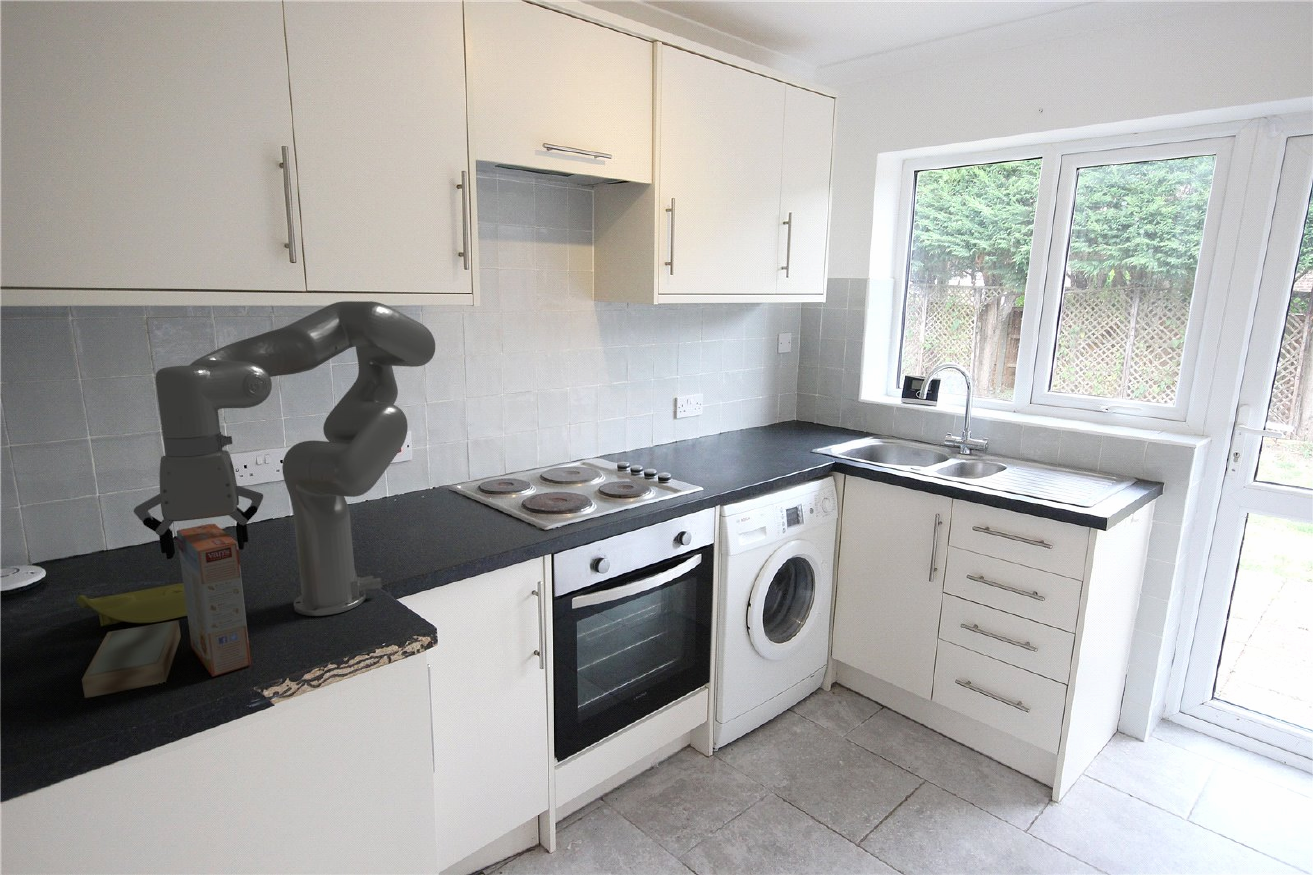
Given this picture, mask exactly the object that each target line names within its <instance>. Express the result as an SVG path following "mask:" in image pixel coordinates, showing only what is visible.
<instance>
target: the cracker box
mask: <svg viewBox="0 0 1313 875" xmlns="http://www.w3.org/2000/svg"><path fill="white" fill-rule="evenodd" d="M176 538H177V546H178V554H179V561H180V568H181V576H182V583H183V585H184V592H185V600H186V607H187V616H186V617H187V623H188V630H189V639H190V640H189V641H190V647H191V649H192V650H193V652H194V653H195V655H196V656H197V657H198V659H199V661H200V662H201V663H202V665H204V667H205V669H206V670H207V671H208V673H209V674H210V675H211V677H212V678H213V677H217V676H219V675H223V674H227V673H230V672H233V671H237V670H241V669H243V668H246V667H250V666H251V665H252V660H251V653H250V652H251V651H250V645H249V644H250V642H249V637H248V636H249V634H248V626H247V618H246V617H247V616H246V608H245V599H244V590H243V581H242V572H241V562H240V552H239V550H240V549H238V543H237V540H235V539H233V537H231V536H230V535H228V534H227V533H226V531H224V530H222V529H221V528H220V527H219V526H218V525H217V524H216V523H208V524H202V525H197V526H192V527H187V528H181V529H178V530H176Z"/></svg>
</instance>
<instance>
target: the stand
mask: <svg viewBox="0 0 1313 875" xmlns="http://www.w3.org/2000/svg"><path fill="white" fill-rule="evenodd" d="M181 635H182V634H181V629H180V621H179V619H178V620H171V621H166V622H161V623H160V622H158V623H154V624H149V625H148V624H147V625H142V626H136V627H130V628H126V629H125V628H124V629H119V630H112V631H107V633H106V635H105V637H104V638H103V640H102V642H101V643H100V646H99V647H98V649H97V651H96V653H95V654H94V656H93V659H92V660H91V662H90V664H89V666H88V668H87V669H86V671H85V672H84V675H83V677H82V678H81V682H82V689H83V693H84V699H88V698H93V697H97V696H98V697H99V696H103V695H110V694H113V693H118V692H123V691H128V690H132V689H133V690H134V689H138V688H142V687H149V686H154V685H160V684H164V683H163V682H165V683H167V680H168V676H169V674H170V671H171V667H172V664H173V661H174V659H175V655H176V652H177V649H178V646H179V643H180V640H181ZM159 683H160V684H159Z"/></svg>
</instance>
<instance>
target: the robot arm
mask: <svg viewBox="0 0 1313 875" xmlns="http://www.w3.org/2000/svg"><path fill="white" fill-rule="evenodd" d="M353 347H355V352H356V357H357V364H358V366H357V367H358V374H357V377H356V380H355V381H354V383H353V384H352V385H351V387H350V388H349V389H348V391H346V392H345V394H344V396H343V397H342V398H341V399H340V400H339V401H338V402H337V404H336V405H335V406H334V407H333V408H332V410H331V411H330V413H329V414H328V416H326V418H325V421H324V423H323V435H324V437H325V439H327V441H325V440H304V441H300V442H298V443H296V444H294V445H292V446H291V447H290V448H289V449H288V450H287V451H286V454H285V455H284V458H283V461H282V466H281V467H282V468H281V469H282V475H283V479H284V483H285V486H286V489H287V493H288V495H289V499H290V502H291V507H292V513H293V514H292V516H293V522H294V532H295V533H294V535H295V540H296V541H295V543H296V552H297V562H298V569H299V570H298V571H299V579H300V588H301V589H300V590H301V594H300V595H299V596H297V597H296V598H295V599H294V601H293V609H294V611H295V612H296V613H298V614H300V615H303V616H309V617H324V616H330V615H331V616H332V615H336V614H340V613H343V612H347V611H349V610H352V609H354V608H356V607H358V606H359V605H361V604H362V603H363V602H364V601H365V600H366V590H370V589H371V590H375V589H379V588H383V585H382V578H381V577H376V578H374V575H369V576H364V577H361V576H358V574H357V571H356V569H355V560H354V558H355V557H354V550H353V549H354V548H353V538H352V536H353V535H352V528H351V527H352V526H351V514H350V509H349V506H348V502H347V500H346V497H347V498H348V497H350V498H355V497H359V496H362V495H364V494H366V493H368V492H369V491H370V490H372V488H373V487H374V486H375V485H376V484H377V482H378V481H379V480H380V478H381V477H382V476H383V475H384V473H385V471H386V470H387V469H388V467H389V466H390V464H391V463H392V462H393V460H394V459H395V458H396V456H397V455H398V453H399V452H400V451H401V449H402V447H403V446H404V444H405V442H406V439H407V435H408V426H409V425H408V419H407V417H406V414H405V413H404V411H403V409H401V407H398V406H397V405H396V404H395V402H396V401H397V398H398V394H399V390H398V384H397V380H396V377H395V372H394V369H393V367H394V366H395V367H408V368H409V367H410V368H413V367H417V368H418V367H422V366H424V365H426V364H428V363H429V362H431V360H432V359H434V358H433V357H434V356H435V353H436V340H435V337H434V335H433V334H432V332H431V331H430V329H429V328H428V327H427V326H426V325H424V324H422V323H421V322H418V321H417V320H415V319H413V318H411V317H409V316H407V314H404V313H402V312H401V311H399V310H396V309H395V308H392V307H390V306H388V305H386V304H384V303H381V302H378V301H360V300H359V301H358V300H357V301H354V300H353V301H352V300H351V301H348V300H345V301H339V302H334V303H331V304H328V305H326V306H325V307H323V308H320V309H319V310H316V311H314V312H313V313H310V314H308V315H306V316H304V317H302V318H300V319H298V320H296V321H294V322H292V323H290V324H288V325H285V326H283V327H281V328H277V329H274V330H270V331H267V332H264V333H261V334H258V335H254V336H252V337H248V338H244V339H241V340H237V341H235V342H232V343H229V344H227V345H224V346H221V347H219V348H218V349H216V350H213V351H211V352H210V353H209V352H208V353H207V354H205V355H202V356H200V357H199V358H197V359H196V360H194V361H192V362H191V363H190V364H188V365H173V366H166V367H162V368H159V370H157V371H156V373H155V377H154V378H155V386H156V387H155V388H156V394H157V402H158V409H159V418H160V425H161V433H162V441H163V446H164V447H163V448H164V454H165V455H163V456H161V458H160V461H159V462H160V464H159V494H156V495H155V496H152V497H151V498H149V499H147V500H146V501H144V502H142V503H140V504H139V505H136V506H135V507H134V509H133V513H134V515H135V516H137V518H138V519H139V520H140V521H141V522H142V524H143V525H144V526H145V527H146V528H148V529H149V530H151V531H153V532H154V533H156V534H155V535H157V536H158V539H159V544H160V550H161V551H160V552H161V554H165V555H166V559H167V560H171V559H173V558H174V556H175V553H176V549H175V541H174V536H173V530H172V529H171V528H170V527H171V526H172V524H174V522H183V521H186V522H187V521H193V520H202V519H211V518H212V519H213V518H219V517H225V516H228V517H230V518H231V519H232V520H234V521H235V522H236V524H235V532H236V542H237V543H238V550H240V551H241V550H244V549H245V543H249V532H248V522H249V521H250V520H251V519H252V518H253V517H254V516H255V515H256V514H257V512H258V510H259V508H260V506H261V504H262V501H263V500H264V494H263V493H262V492H259V491H255V490H252V489H249V488H246V487H243V486H240V485H238V484H237V483H238V482H237V479H236V473H235V468H234V464H233V460H232V456H231V454H230V452H229V451H228V450H227V449H223V448H225V446H227V447H228V446H229V445H233V437H232V435H229V436H227V435H224V434H222V431H221V426H220V418H219V417H220V416H219V411H220V410H222V409H249V408H253V407H256V406H259V405H261V404H262V403H263V402H264V401H266V400H267V399H268V398H269V396H270V394H271V392H272V388H273V387H272V386H273V383H272V382H273V381H272V379H271V377H282V376H288V375H296V374H301V373H304V372H305V373H306V372H308V371H311V370H315V369H316V368H317V367H319V366H321V365H322V364H324V363H326V362H327V361H329V360H332V359H333V358H335V357H336V356H338V355H340V354H342V353H344V352H345V351H348V350H349V349H351V348H353ZM240 497H242V498H245V499H248V500H250V501H251V503H250V505H249V506H248V507H247V508H246V510H245V511H243V510H242V509H241V508H240V507H238V506H239V504H240V499H239V498H240ZM159 505H160V508H161V509H160V510H161V514H162V517H163V519H161V520H162V521H160V520H159V519H157V518H155V517H154V516H153V515H151V513H150V512H149V511H150V510H151V509H153V508H155V507H157V506H159Z"/></svg>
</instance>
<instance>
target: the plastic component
mask: <svg viewBox="0 0 1313 875" xmlns="http://www.w3.org/2000/svg"><path fill="white" fill-rule="evenodd" d="M75 600H76V602H77V604H78V605H79V606H80V607H81V608H82V609H86V610H87V609H88V610H89V609H92V610H93V611H95V612H97V613H98V616H99V622H100V627H103V626H104V627H107V626H110V625H111V626H112V625H116V624H120V623H122V622H124V623H125V622H126V623H133V624H151V623H154V624H155V623H160V622H164V621H169V620H174V619H178V618H179V619H180V618H183V617H188V616H187V607H186V600H185V592H184V585H183V582H180V583H179V582H178V583H175V584H169V585H164V586H163V585H162V586H158V587H152V588H148V589H147V588H146V589H142V590H136V591H131V592H125V593H124V592H123V593H120V594H115V595H107V596H102V597H97V598H96V597H95V598H88V597H87V596H86V595H85V594H83V595H78V596H77V597H76V599H75Z"/></svg>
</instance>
